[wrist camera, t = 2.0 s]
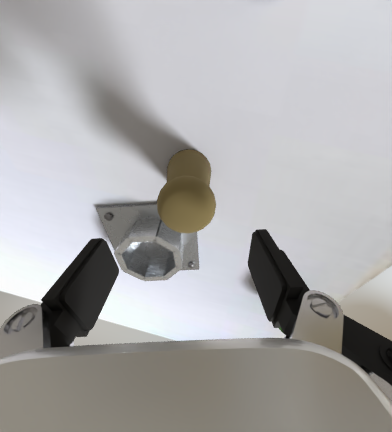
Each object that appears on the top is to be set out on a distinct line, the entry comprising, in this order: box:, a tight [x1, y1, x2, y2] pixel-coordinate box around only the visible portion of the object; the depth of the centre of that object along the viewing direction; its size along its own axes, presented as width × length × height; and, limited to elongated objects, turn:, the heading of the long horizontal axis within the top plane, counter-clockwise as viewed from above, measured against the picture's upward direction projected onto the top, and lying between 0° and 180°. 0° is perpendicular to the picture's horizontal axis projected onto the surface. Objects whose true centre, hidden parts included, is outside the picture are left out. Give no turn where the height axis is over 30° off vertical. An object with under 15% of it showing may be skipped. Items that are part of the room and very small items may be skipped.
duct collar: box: [96, 203, 199, 281], centre depth 27 cm, size 15×15×5 cm
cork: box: [157, 149, 216, 233], centre depth 18 cm, size 6×6×11 cm
